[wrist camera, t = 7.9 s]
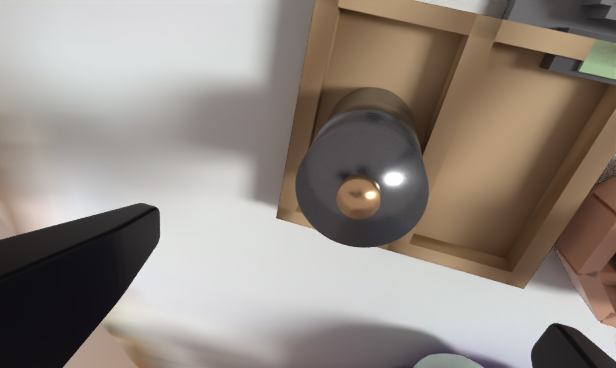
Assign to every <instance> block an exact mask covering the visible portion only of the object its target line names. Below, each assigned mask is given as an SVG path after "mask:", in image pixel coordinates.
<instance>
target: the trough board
mask: <svg viewBox="0 0 616 368" xmlns="http://www.w3.org/2000/svg"><path fill="white" fill-rule="evenodd" d="M595 41H596V39H593V38H589V37H584V36H579V35H575V34H570V33H565V32H560V31H556V30H551V29H546V28H542V27H537V26H532V25H527V24H523V23H518V22H513V21H509V20H504V19H499V18H494V17H490V16H485V15H480V14H476V13H471V12H466V11H462V10H457V9H452V8H447V7H443V6H438V5H433V4H429V3H424V2H419V1H414V0H315V4H314V9H313V15H312V20H311V26H310V32H309V37H308V43H307V48H306V54H305V60H304V65H303V71H302V76H301V82H300V88H299V93H298V99H297V104H296V110H295V116H294V121H293V127H292V132H291V138H290V144H289V149H288V155H287V160H286V166H285V172H284V177H283V183H282V188H281V194H280V200H279V205H278V211H277V216H276V218H277V219H281V220H284V221H288V222H291V223H295V224H298V225H302V226H305V227H309V228H312V229H315V228H314V227H313V226H312V225H311V224H310V223H309V222H308V220H307V219H306V218H305V216H304V215H303V213H302V211H301V209H300V207H299V204H298V201H297V198H296V192H295V181H296V175H297V171H298V168H299V166H300V163H301V161H302V160H303V158H304V156H305V155H306V153H307V151H308V150H309V148H310V146H311V145H312V143H313V141H314V140H315V138H316V136H317V135H318V133H319V131H320V130H321V128H322V126H323V125H324V123H325V121H326V120H327V118H328V116H329V115H330V113H331V112H332V110H333V108H334V107H335V105H336V104H337V103H338V102H339V101H340V100H341V99H342V98H343V97H344V96H345V95H347V94H349V93H350V92H352V91H355V90H357V89H361V88H367V87H377V88H382V89H386V90H388V91H391V92H393V93H394V94H396V95H398V96H399V97H400V98H401V99H402V100H403V101H404V102H405V103H406V104H407V106H408V107H409V109H410V111H411V113H412V116H413V120H414V124H415V128H416V132H417V136H418V141H419V145H420V149H421V153H422V157H423V162H424V166H425V170H426V174H427V178H428V185H429V197H428V203H427V206H426V209H425V212H424V214H423V216H422V218H421V219H420V221H419V222H418V223H417V225H416V226H415V227H414V228H413V229H412V230H411V231H410V232H408V233H407V234H406V235H405V236H403V237H401V238H400V239H398V240H396V241H394V242H391V243H388V244H385V245H382V246H377V247H379V248H382V249H386V250H389V251H393V252H396V253H400V254H403V255H407V256H410V257H414V258H417V259H421V260H424V261H428V262H431V263H435V264H438V265H442V266H445V267H449V268H452V269H456V270H459V271H463V272H466V273H470V274H473V275H477V276H480V277H484V278H487V279H491V280H494V281H498V282H501V283H505V284H508V285H512V286H515V287H519V288H522V289H524V288H525V286H526V285H527V283H528V282H529V280H530V279H531V278H532V276H533V275H534V273H535V272H536V270H537V269H538V267H539V266H540V264H541V263H542V261H543V260H544V258H545V257H546V255H547V254H548V252H549V251H550V249H551V248H552V246H553V245H554V243H555V242H556V241H557V239H558V238H559V236H560V235H561V233H562V232H563V230H564V229H565V227H566V226H567V224H568V223H569V221H570V220H571V218H572V217H573V215H574V214H575V212H576V211H577V209H578V208H579V206H580V205H581V204H582V202H583V201H584V199H585V198H586V196H587V195H588V193H589V192H590V190H591V189H592V187H593V186H594V184H595V183H596V181H597V180H598V178H599V177H600V175H601V174H602V172H603V171H604V170H605V168H606V167H607V165H608V164H609V162H610V161H611V159H612V158H613V156H614V155H615V153H616V85H613V84H609V83H604V82H600V81H595V80H591V79H586V78H582V77H577V76H573V75H568V74H563V73H560V72H555V71H551V70H547V69H543V68H540V67H539V65H540V63H541V61H542V59H543V57H544V55H545V53H550V54H555V55H560V56H564V57H569V58H574V59H578V60H583V61H585V59H586V58H587V56H588V54H590V53H589V52H590V50H591V49H593V48H595V47H596V46H597V42H598V41H596V44H595ZM600 41H601V40H599V43H601V42H602V43H603V42H604V41H603V40H602V41H601V42H600ZM611 43H612V42H611ZM611 43H610V42H608V43H607V44H606V41H605V43H604V44H606V45H608V44H609V46H610V44H611ZM604 44H602V46H601V45H599V47H603V46H604ZM612 44H613V43H612ZM612 44H611V45H612ZM593 45H594V47H593ZM606 45H605V48H604V47H603V48H604V49H605V50H606V49H607V50H608V49H609V50H610V47H608V46H606ZM496 46H497V47H496ZM592 47H593V48H592ZM607 47H608V48H607ZM612 47H615V43H614V45H613V46H612ZM597 48H598V47H597ZM603 48H601V50H602V49H603ZM604 49H603V51H604ZM612 49H613V50H614V52H613V51H612ZM593 50H594V49H593ZM595 50H596V49H595ZM607 50H606V52H607ZM539 51H540V52H539ZM591 51H592V50H591ZM596 51H598V54H599V53H600V50H599V49H597V50H596ZM596 51H595V53H596ZM611 51H612V52H613V54H614V53H615V54H616V47H615V48H611ZM611 51H608V52H611ZM606 52H605V53H604V56H606V55H607V54H609V53H608V52H607V54H606ZM612 52H611V53H612ZM512 53H513V54H512ZM602 53H603V52H602ZM602 53H601V54H602ZM500 54H501V55H500ZM593 54H594V53H593ZM598 54H597V55H598ZM601 54H599V55H601ZM613 54H612V55H613ZM527 55H528V56H527ZM594 55H595V54H594ZM599 55H598V56H599ZM519 56H520V57H519ZM592 56H593V55H591V57H590V58H593V57H592ZM598 56H597V57H598ZM601 56H602V55H601ZM604 56H603V57H604ZM494 57H495V59H494ZM502 57H503V58H502ZM599 57H600V56H599ZM608 57H609V56H607V58H608ZM615 57H616V56H615ZM523 58H524V59H523ZM588 58H589V57H588ZM590 58H589V59H590ZM595 58H596V57H595ZM610 58H611V60H612V62H613V60H614V58H612V57H611V56H610ZM589 59H588V60H589ZM502 60H503V61H502ZM593 60H594V58H593ZM597 60H598V59H597ZM604 60H605V59H604ZM604 60H603V62H604ZM605 61H606V60H605ZM608 61H609V62H610V60H609V59H608ZM517 62H518V63H517ZM587 62H588V61H587ZM589 62H590V61H589ZM597 62H598V61H597ZM603 62H602V63H603ZM612 62H610V64H611V63H612ZM594 63H595V62H594ZM598 63H599V62H598ZM614 63H615V62H614ZM606 64H608V62H607V61H606ZM608 65H609V64H608ZM608 65H607V66H608ZM611 66H612V65H611ZM611 66H610V67H611ZM534 67H535V68H534ZM613 67H614V66H613ZM504 68H505V69H504ZM536 69H537V70H536ZM548 71H549V72H548ZM509 72H510V73H509ZM528 75H529V76H528ZM513 76H514V77H513ZM534 77H535V78H534ZM537 80H538V81H537ZM602 85H603V86H602Z"/></svg>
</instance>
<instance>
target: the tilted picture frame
mask: <svg viewBox="0 0 616 368" xmlns="http://www.w3.org/2000/svg"><path fill="white" fill-rule="evenodd" d="M413 368H484V367H483V366H481V365H480V364H478V363H476V362H474V361H473V360H471V359H468V358H466V357H464V356H462V355H456V354H432V355H428V356H426V357H424V358H423V359H421V360H420V361H419V362H418V363H417V364H416V365H415V366H414V367H413Z"/></svg>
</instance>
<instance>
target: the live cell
mask: <svg viewBox="0 0 616 368" xmlns="http://www.w3.org/2000/svg"><path fill="white" fill-rule="evenodd" d="M295 192H296V198H297V201H298V204H299V207H300V209H301V211H302V213H303V215H304V216H305V218H306V219H307V220H308V222H309V223H310V224H311V225H312V226H313V227H314V228H315V229H316V230H317V231H318V232H320V233H321V234H322V235H324V236H326V237H327V238H329V239H331V240H333V241H335V242H338V243H341V244H344V245H348V246H353V247H377V246H382V245H385V244H388V243H391V242H394V241H396V240H398V239H400V238H401V237H403V236H405V235H406V234H407V233H408V232H410V231H411V230H412V229H413V228H414V227H415V226H416V225H417V223H418V222H419V221H420V219H421V218H422V216H423V214H424V212H425V209H426V206H427V203H428V197H429V185H428V178H427V174H426V170H425V166H424V162H423V157H422V153H421V149H420V145H419V141H418V136H417V132H416V128H415V124H414V120H413V116H412V113H411V111H410V109H409V107H408V106H407V104H406V103H405V102H404V101H403V100H402V99H401V98H400V97H399V96H398V95H396V94H394V93H393V92H391V91H388V90H386V89H382V88H377V87H367V88H361V89H357V90H355V91H352V92H350V93H349V94H347V95H345V96H344V97H343V98H342V99H341V100H340V101H339V102H338V103H337V104H336V105H335V107H334V108H333V110H332V112H331V113H330V115H329V116H328V118H327V120H326V121H325V123H324V125H323V126H322V128H321V130H320V131H319V133H318V135H317V136H316V138H315V140H314V141H313V143H312V145H311V146H310V148H309V150H308V151H307V153H306V155H305V156H304V158H303V160H302V161H301V163H300V166H299V168H298V171H297V175H296V181H295Z"/></svg>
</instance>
